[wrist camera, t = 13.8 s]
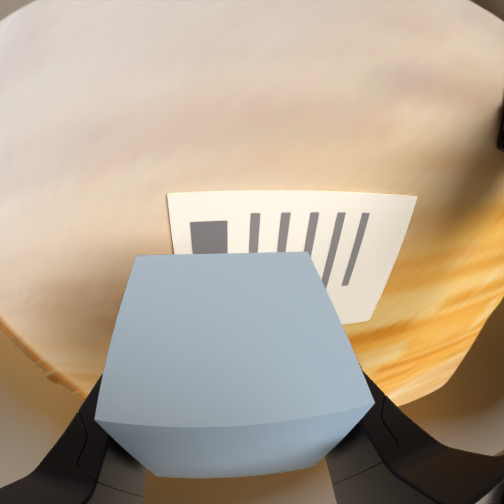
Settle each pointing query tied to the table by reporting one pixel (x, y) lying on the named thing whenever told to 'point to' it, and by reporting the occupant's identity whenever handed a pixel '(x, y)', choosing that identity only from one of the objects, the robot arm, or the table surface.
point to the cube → (229, 366)
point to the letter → (302, 234)
